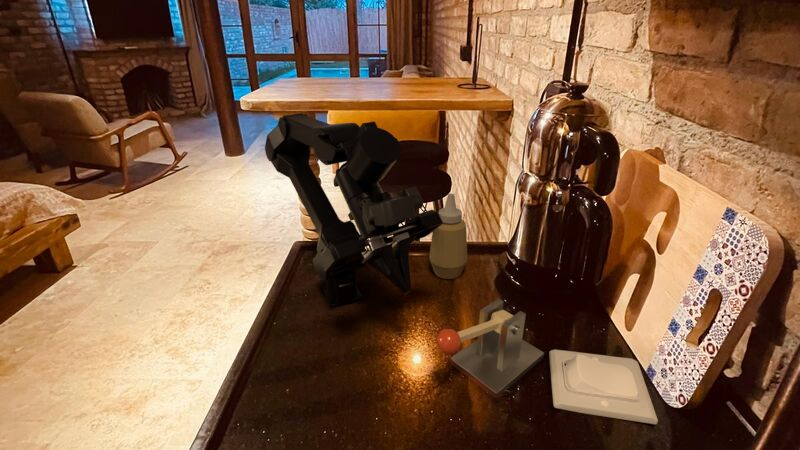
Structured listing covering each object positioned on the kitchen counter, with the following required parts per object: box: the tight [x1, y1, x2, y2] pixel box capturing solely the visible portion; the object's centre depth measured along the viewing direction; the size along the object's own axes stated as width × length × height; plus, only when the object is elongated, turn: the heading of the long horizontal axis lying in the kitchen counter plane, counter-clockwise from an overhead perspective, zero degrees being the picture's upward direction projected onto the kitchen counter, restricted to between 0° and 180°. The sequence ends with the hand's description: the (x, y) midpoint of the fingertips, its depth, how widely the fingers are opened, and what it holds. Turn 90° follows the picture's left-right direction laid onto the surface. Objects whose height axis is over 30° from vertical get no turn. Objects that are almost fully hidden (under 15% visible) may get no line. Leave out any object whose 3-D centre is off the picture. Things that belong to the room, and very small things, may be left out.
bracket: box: [449, 298, 545, 400], centre depth 62 cm, size 12×9×10 cm
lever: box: [435, 309, 514, 355], centre depth 57 cm, size 15×3×3 cm, turn 130°
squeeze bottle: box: [428, 193, 468, 280], centre depth 84 cm, size 8×8×18 cm
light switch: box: [548, 349, 659, 425], centre depth 59 cm, size 11×4×13 cm
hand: (408, 292), depth 58 cm, fingers closed
